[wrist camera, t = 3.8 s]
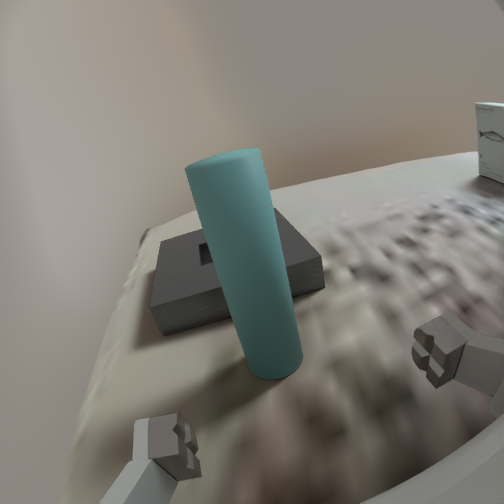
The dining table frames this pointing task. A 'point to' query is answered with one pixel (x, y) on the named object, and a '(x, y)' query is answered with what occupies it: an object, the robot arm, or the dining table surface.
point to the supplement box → (491, 140)
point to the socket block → (207, 282)
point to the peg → (248, 258)
